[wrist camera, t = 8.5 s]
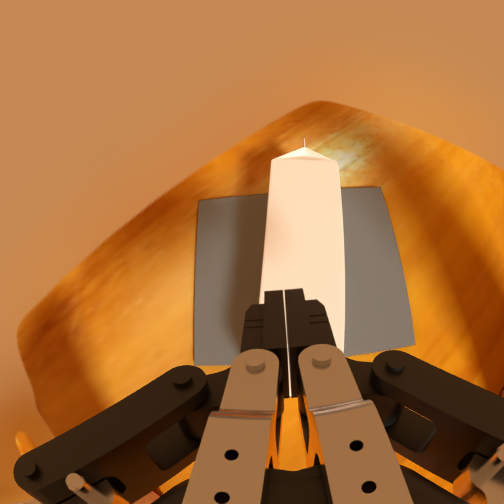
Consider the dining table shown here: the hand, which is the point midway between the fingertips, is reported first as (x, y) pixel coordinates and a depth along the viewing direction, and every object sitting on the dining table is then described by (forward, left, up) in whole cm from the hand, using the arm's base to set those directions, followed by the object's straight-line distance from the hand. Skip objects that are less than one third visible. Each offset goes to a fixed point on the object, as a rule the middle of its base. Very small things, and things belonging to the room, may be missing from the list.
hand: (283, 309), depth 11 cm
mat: (-2, -7, -14) cm, 16 cm away
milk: (-1, +4, -11) cm, 12 cm away
